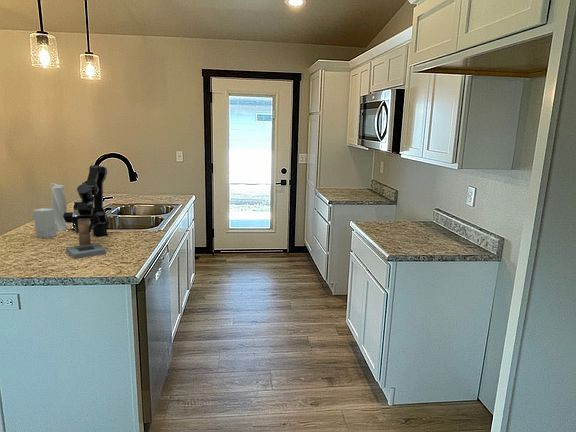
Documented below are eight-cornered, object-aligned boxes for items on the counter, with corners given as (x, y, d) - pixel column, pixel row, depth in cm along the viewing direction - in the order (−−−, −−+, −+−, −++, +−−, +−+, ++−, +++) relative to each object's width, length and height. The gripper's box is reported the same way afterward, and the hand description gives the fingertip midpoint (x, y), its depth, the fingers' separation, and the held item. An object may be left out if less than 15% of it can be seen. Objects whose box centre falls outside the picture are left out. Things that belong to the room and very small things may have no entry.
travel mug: (86, 227, 247) (84, 198, 243) (92, 230, 242) (90, 200, 238) (72, 230, 241) (70, 200, 237) (79, 232, 236) (76, 202, 232)
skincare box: (57, 236, 226) (54, 208, 223) (46, 239, 220) (44, 211, 217) (45, 234, 229) (43, 207, 226) (35, 237, 223) (32, 209, 220)
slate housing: (96, 247, 208) (96, 243, 208) (105, 253, 198) (104, 249, 198) (66, 251, 199) (66, 247, 199) (73, 258, 189) (73, 254, 189)
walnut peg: (85, 242, 201) (84, 218, 199) (93, 243, 199) (91, 220, 197) (77, 244, 197) (75, 220, 194) (84, 246, 195) (82, 221, 192)
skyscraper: (57, 231, 235) (53, 184, 230) (50, 229, 239) (46, 182, 233) (70, 229, 242) (67, 182, 236) (63, 227, 246) (60, 181, 240)
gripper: (62, 196, 195) (57, 223, 186) (104, 195, 199) (101, 222, 191) (68, 208, 204) (63, 235, 196) (108, 208, 208) (105, 234, 200)
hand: (83, 231), depth 195 cm, fingers closed on walnut peg, 5 cm apart
